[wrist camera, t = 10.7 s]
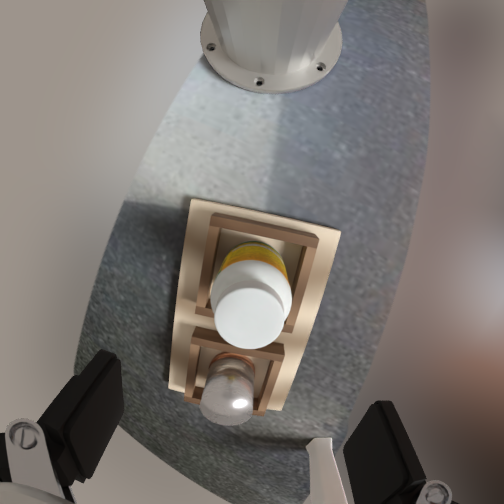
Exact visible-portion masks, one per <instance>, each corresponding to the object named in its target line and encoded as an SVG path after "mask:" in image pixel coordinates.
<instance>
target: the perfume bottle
mask: <svg viewBox="0 0 504 504" xmlns="http://www.w3.org/2000/svg"><path fill="white" fill-rule="evenodd" d="M305 448H306V450H307V452H308V453H309V459H310V501H311V504H348V503H347V499H346V496H345V492H344V489H343V486H342V482H341V479H340V475H339V473H338V469H337V465H336V462H335V459H334V455H333V452H332V438H314V439H313V440H312V441H311V442H310V443H309V444H308V445H307V446H306V447H305Z"/></svg>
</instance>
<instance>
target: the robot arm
mask: <svg viewBox="0 0 504 504" xmlns="http://www.w3.org/2000/svg"><path fill="white" fill-rule="evenodd" d="M204 2H205V5H206V8H207V10H208V12H207V14H206V16H205V18H204V21H203V23H202V27H201V32H200V36H201V45H202V48H203V52H204V54H205V56H206V58H207V60H208V62H209V63H210V65H211V66H212V67H213V69H214V70H215V71H216V72H217V73H218V74H219V75H220V76H222V77H223V78H224V79H225V80H227V81H229V82H230V83H232V84H234V85H236V86H238V87H241V88H243V89H246V90H249V91H254V92H258V93H266V94H283V93H291V92H295V91H299V90H303V89H305V88H307V87H309V86H312V85H314V84H315V83H317V82H318V81H320V80H321V79H323V78H324V77H325V76H326V75H327V74H328V73H329V72H330V71H331V70H332V68H333V67H334V65H335V64H336V62H337V60H338V58H339V55H340V53H341V48H342V32H341V29H340V26H339V23H338V19H339V17H340V15H341V13H342V11H343V9H344V7H345V5H346V3H347V2H348V0H204ZM211 49H215V50H213V51H210V50H211ZM317 68H320V69H321V70H322V71H319V70H317ZM258 82H261V83H262V85H261V86H257V85H256V84H257V83H258ZM123 413H124V400H123V389H122V376H121V362H120V360H119V359H117V356H116V354H114V353H111V352H108V351H105V350H103V349H101V350H99V351H98V353H97V354H96V355H95V356H94V358H93V359H92V360H91V361H90V363H89V364H88V365H87V366H86V367H85V369H84V370H83V371H82V372H81V374H80V375H79V376H78V375H75V376H73V377H72V378H71V379H70V380H69V381H68V383H67V384H66V385H65V386H64V388H63V389H62V390H61V391H60V393H59V394H58V395H57V397H56V398H55V399H54V400H53V402H52V403H51V404H50V405H49V407H48V408H47V409H46V411H45V412H44V413H43V415H42V416H41V417H40V418H39V420H38V421H37V422H34V421H32V420H29V419H24V418H21V419H16V420H14V421H12V422H11V423H10V424H9V425H8V426H7V428H6V431H5V433H0V504H77V502H76V500H75V497H74V494H73V492H72V489H71V485H72V484H73V482H74V480H77V481H79V482H81V483H84V481H85V479H86V478H88V479H90V478H91V477H92V475H93V473H94V471H95V469H96V467H97V465H98V463H99V461H100V459H101V457H102V455H103V453H104V451H105V449H106V447H107V445H108V443H109V441H110V439H111V437H112V435H113V433H114V431H115V429H116V427H117V425H118V423H119V421H120V419H121V417H122V415H123ZM343 453H344V457H345V462H346V466H347V470H348V475H349V479H350V484H351V489H352V493H353V498H354V502H355V504H458V503H456V502H454V501H452V500H451V499H452V493H451V490H450V488H449V487H448V486H447V485H446V484H445V483H443V482H441V481H437V480H434V481H430V482H428V483H426V481H425V479H426V476H425V474H424V471H423V469H422V466H421V464H420V462H419V459H418V457H417V455H416V452H415V450H414V448H413V446H412V444H411V441H410V439H409V437H408V435H407V432H406V430H405V428H404V426H403V424H402V422H401V419H400V417H399V415H398V413H397V411H396V409H395V407H394V405H393V403H392V402H391V401H376V402H375V403H374V404H372V405H371V406H370V407H369V409H368V410H367V412H366V414H365V415H364V417H363V418H362V420H361V421H360V423H359V424H358V426H357V428H356V429H355V431H354V432H353V434H352V435H351V436H350V438H349V439H348V441H347V442H346V444H345V445H344V449H343Z"/></svg>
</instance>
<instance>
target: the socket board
mask: <svg viewBox="0 0 504 504" xmlns="http://www.w3.org/2000/svg"><path fill="white" fill-rule="evenodd" d="M340 234H341V231H339V230H338V229H334V228H330V227H325V226H321V225H317V224H313V223H309V222H304V221H300V220H296V219H291V218H287V217H282V216H278V215H273V214H269V213H264V212H260V211H255V210H250V209H245V208H241V207H236V206H231V205H226V204H221V203H216V202H211V201H206V200H201V199H196V198H193V199H191V204H190V210H189V216H188V222H187V228H186V234H185V240H184V247H183V254H182V261H181V268H180V275H179V283H178V291H177V300H176V308H175V317H174V327H173V337H172V348H171V360H170V374H169V389H172V390H176V391H180V392H184V393H185V395H184V401H187V402H191V403H195V404H199V405H200V402H201V398H202V394H203V390H204V386H205V383H206V379H207V375H208V369H209V366H210V362H211V360H212V359H213V358H214V357H215V356H216V355H217V354H219V353H222V352H230V353H235V354H240V355H245V356H247V357H249V358H250V359H251V360H252V362H253V364H254V366H255V379H254V395H253V413H252V415H258V416H264V414H265V411H266V409H272V410H280V411H281V409H282V407H283V404H284V402H285V399H286V397H287V395H288V392H289V389H290V387H291V384H292V382H293V379H294V377H295V374H296V371H297V369H298V366H299V363H300V361H301V358H302V355H303V352H304V350H305V347H306V344H307V341H308V338H309V335H310V333H311V330H312V327H313V324H314V321H315V318H316V315H317V312H318V309H319V305H320V302H321V299H322V296H323V293H324V290H325V286H326V283H327V280H328V277H329V273H330V270H331V266H332V263H333V259H334V256H335V252H336V249H337V245H338V241H339V238H340ZM250 240H257V241H262V242H265V243H267V244H269V245H271V246H272V247H273V248H275V249H276V250H277V252H278V253H279V254H280V255H281V257H282V259H283V262H284V265H285V269H286V273H287V277H288V281H289V285H290V288H291V294H292V304H291V309H290V312H289V314H288V316H287V318H286V320H285V321H284V325H283V329H282V331H281V333H280V334H279V336H278V337H277V338H276V339H275V340H274V341H273V342H271V343H270V344H268V345H266V346H264V347H261V348H257V349H243V348H239V347H236V346H233V345H231V344H230V343H228V342H227V341H225V340H224V339H223V338H222V337H221V335H220V334H219V332H218V331H217V329H216V326H215V322H214V313H213V310H212V307H211V299H210V297H211V290H212V286H213V283H214V281H215V279H216V277H217V274H218V272H219V270H220V268H221V266H222V263H223V261H224V259H225V257H226V255H227V254H228V253H229V251H230V250H231V249H232V248H233V247H235V246H236V245H238V244H239V243H242V242H244V241H250Z"/></svg>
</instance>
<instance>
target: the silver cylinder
mask: <svg viewBox="0 0 504 504" xmlns="http://www.w3.org/2000/svg"><path fill="white" fill-rule="evenodd" d="M254 379H255V366H254V364H253V362H252V360H251V359H250V358H249V357H247V356H245V355H240V354H235V353H230V352H222V353H219V354H217V355H216V356H215V357H214V358H213V359H212V360H211V362H210V366H209V369H208V375H207V379H206V383H205V386H204V390H203V394H202V398H201V402H200V410H201V412H202V414H203V415H204V416H205V417H206V418H207V419H209V420H210V421H212V422H214V423H217V424H220V425H226V426H234V425H239V424H242V423H244V422H246V421H247V420H248V419H249V418H250V417H251V416H252V413H253V395H254Z"/></svg>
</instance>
